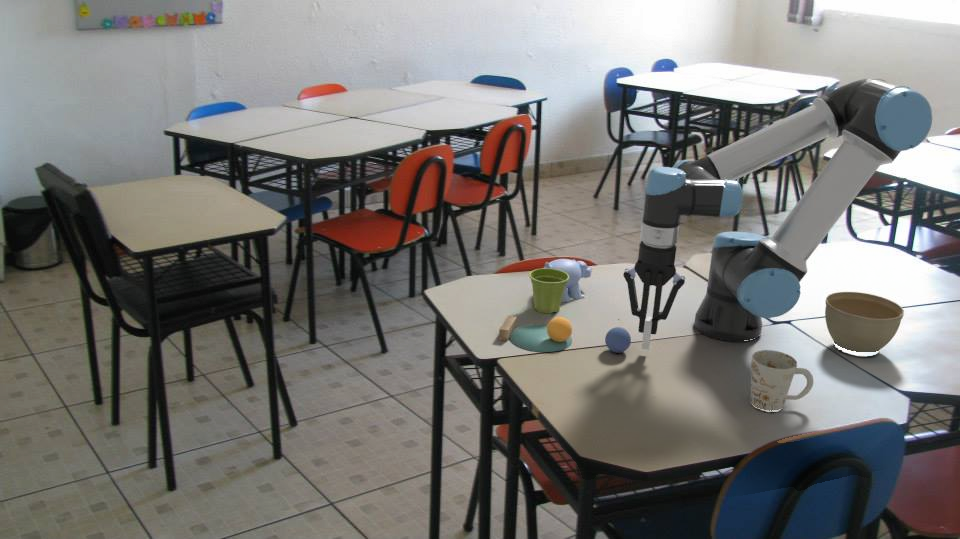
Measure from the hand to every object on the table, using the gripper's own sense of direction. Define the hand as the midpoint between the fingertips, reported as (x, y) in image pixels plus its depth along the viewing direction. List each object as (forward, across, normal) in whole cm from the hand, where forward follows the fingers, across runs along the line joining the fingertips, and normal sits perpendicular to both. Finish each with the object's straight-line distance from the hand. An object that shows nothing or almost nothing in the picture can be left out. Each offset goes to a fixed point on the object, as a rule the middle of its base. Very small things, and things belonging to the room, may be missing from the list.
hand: (645, 346), depth 196 cm
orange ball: (-1, -19, 0) cm, 19 cm away
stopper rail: (+2, -30, 0) cm, 31 cm away
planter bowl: (+2, +45, +20) cm, 49 cm away
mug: (+2, +27, -14) cm, 30 cm away
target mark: (+2, -23, 0) cm, 23 cm away
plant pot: (+2, -25, +17) cm, 30 cm away
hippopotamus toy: (+2, -23, +30) cm, 37 cm away
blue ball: (-1, -6, -1) cm, 6 cm away
